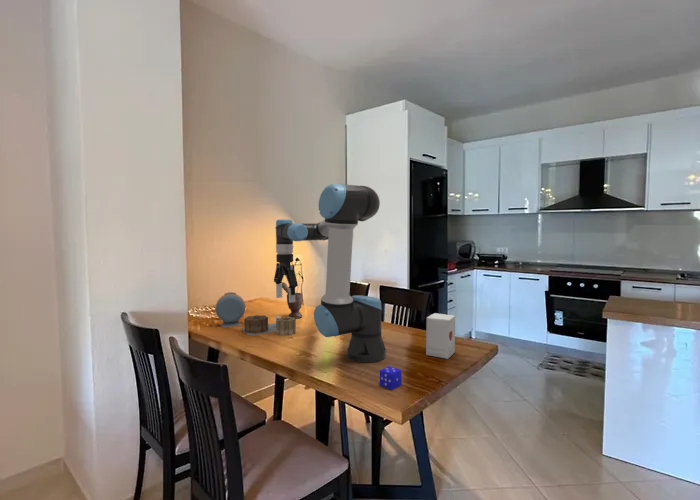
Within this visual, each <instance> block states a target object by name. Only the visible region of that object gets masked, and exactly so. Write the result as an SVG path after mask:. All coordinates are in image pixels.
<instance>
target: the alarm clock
mask: <svg viewBox="0 0 700 500" xmlns="http://www.w3.org/2000/svg"><path fill="white" fill-rule="evenodd" d="M245 313H246V303H245V300H244V298H242V297H241V296H240V295H239V294H237V293H236V292H232V291H230V292H225V293H224V295H222V296H220V297H219V299H218V300H217V301H216V304H215V315H216V316H217V318H218V319H219V320H221V321H222V322H223V323H220V324H219V326H221V327H222V328H227V327H228V328H229V327H238V326H242V323H241V321H240V322H239V320H240V319H242V318H243V316H244V314H245Z"/></svg>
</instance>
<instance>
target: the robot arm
mask: <svg viewBox="0 0 700 500" xmlns="http://www.w3.org/2000/svg"><path fill="white" fill-rule="evenodd" d="M379 197H380V196H379V195H378V193H377V192H376V191H375V190H374V189H373V188H371V187H369V186H366V185H354V184H344V183H333V184H329V185H326V187H324V189H323V190H322V191H321V193H320V196H319V200H318V211H319V214H320V215H321V217H322V218H323V219H322V220H321V221H320V222H318V223H316V222H315V223H299V222H298V223H297V222H293V220H292V219H289V218H287V219H286V218H285V219H283V218H282V219H281V218H280V219H276V221H275V239H276V240H275V241H276V243H275V252H276V253H277V254H276V257H275V258H276V264H275V265H276V267H275V271H274V272H275V273H274V277H273V282H274V283H275V287H276V288H275V289H276V293H275V294H276V296H275V297H276V298H275V299H279V298H283V288H282V283H283V279H284V277H286V279H287V280H286V281H287V283H288V288H289V303H291V302H295V293H296V287H298V281H297V280H298V279H297V275H296V271H295V265H294V264H291V263H293V262H294V254H293V253H294V242H303V241H305V242H306V241H327V256H326V257H327V258H326V276H325V277H326V279H325V282H326V283H325V294H323V296H321V298H320V304H319V305H316V306H315V308H314V310H313V319H314V323H315V326H316V328H317V330H318V332H319V333H320V334H321V335H322V337H325V338H331V337H334V338H335V337H338V336H343V335H347V334H351V335H350V339H349V342H348V347H347V349H346V357H347V358H348V359H349V360H351V361H354V362H358V363H376V362H380V361H383V360H384V359H386V357H387V349H386V347H385V342H384V340H383V339H384V338H383V337H382V336H383V335H382V315H383V312H382V311H383V309H382V301H381V299H380V298H378V297H375V296H370V295H369V296H368V295H357V294H356V295H355V294H354V295H352V296H351V294H350V292H351V291H350V290H351V289H350V288H351V277H352V276H351V275H352V273H351V272H352V256H353V255H352V254H353V240H354V229H355V228H356V226H358V224H359V222H366V221H367V220H369V219H371V218H373V217H374V216H375V215H377V213H378V211H379V209H380V205H381V204H380V203H381V202H380V198H379Z"/></svg>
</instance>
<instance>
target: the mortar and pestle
mask: <svg viewBox="0 0 700 500" xmlns="http://www.w3.org/2000/svg"><path fill="white" fill-rule="evenodd" d="M281 284H282V290H284V291H285V293H287V294H286V303H287V306H288V307H287V308H288V309H289V310H290V313H289V314H288V317H292V318H293V317H294V318H295V319H300V317H301V318H302V317H303V315H302V314H303V313H301V312H300V310H301V309H302V307H303V306H302V305H303V301H304V300H303V293H302V292H295V302H291V303H289V288H288V287H289V285H288V284H287V283H286V282H282V283H281Z"/></svg>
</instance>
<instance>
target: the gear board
mask: <svg viewBox="0 0 700 500" xmlns="http://www.w3.org/2000/svg"><path fill="white" fill-rule="evenodd" d="M277 318H281V316H280V315H277V316H275V322H274V323H268V330H266V332H261V333H255V334H254V333H247V331H245V327H243V328H240V331H243V332H244V333H245V334H247V335H248V336H251V337H253V336H257V335H263V334H268V333H274V332H277Z"/></svg>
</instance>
